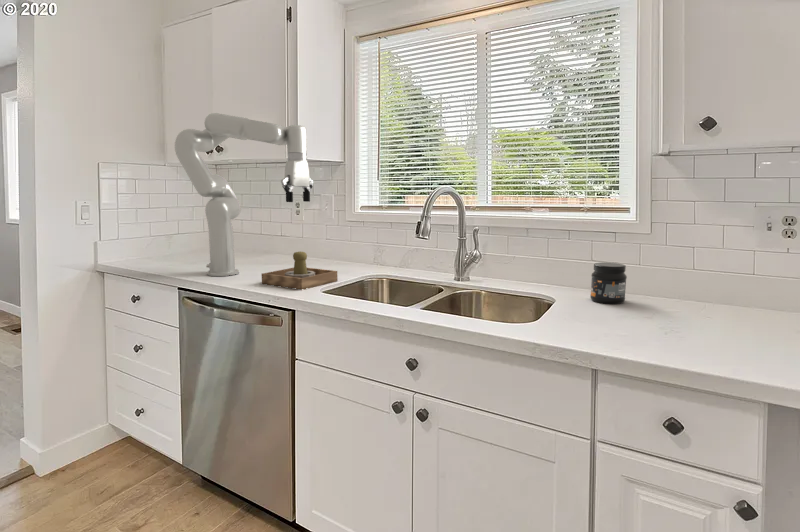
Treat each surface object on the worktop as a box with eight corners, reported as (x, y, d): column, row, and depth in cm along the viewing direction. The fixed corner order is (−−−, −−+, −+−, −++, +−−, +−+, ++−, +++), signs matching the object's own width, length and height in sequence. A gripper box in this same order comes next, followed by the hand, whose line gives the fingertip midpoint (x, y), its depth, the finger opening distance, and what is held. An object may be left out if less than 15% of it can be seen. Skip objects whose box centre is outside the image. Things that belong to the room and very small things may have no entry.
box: (261, 284, 195) (261, 273, 194) (298, 276, 211) (298, 266, 211) (302, 290, 184) (301, 278, 184) (337, 281, 201) (337, 271, 200)
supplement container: (590, 296, 175) (592, 261, 173) (624, 299, 171) (627, 263, 169) (589, 303, 165) (591, 265, 164) (625, 306, 162) (628, 267, 160)
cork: (296, 278, 202) (296, 250, 200) (311, 279, 200) (310, 251, 198) (289, 281, 196) (288, 252, 194) (304, 282, 194) (303, 253, 193)
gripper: (305, 159, 214) (306, 201, 216) (274, 157, 199) (275, 202, 202) (319, 158, 210) (319, 201, 212) (288, 156, 195) (289, 202, 198)
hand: (298, 201), depth 207 cm, fingers open, 9 cm apart
